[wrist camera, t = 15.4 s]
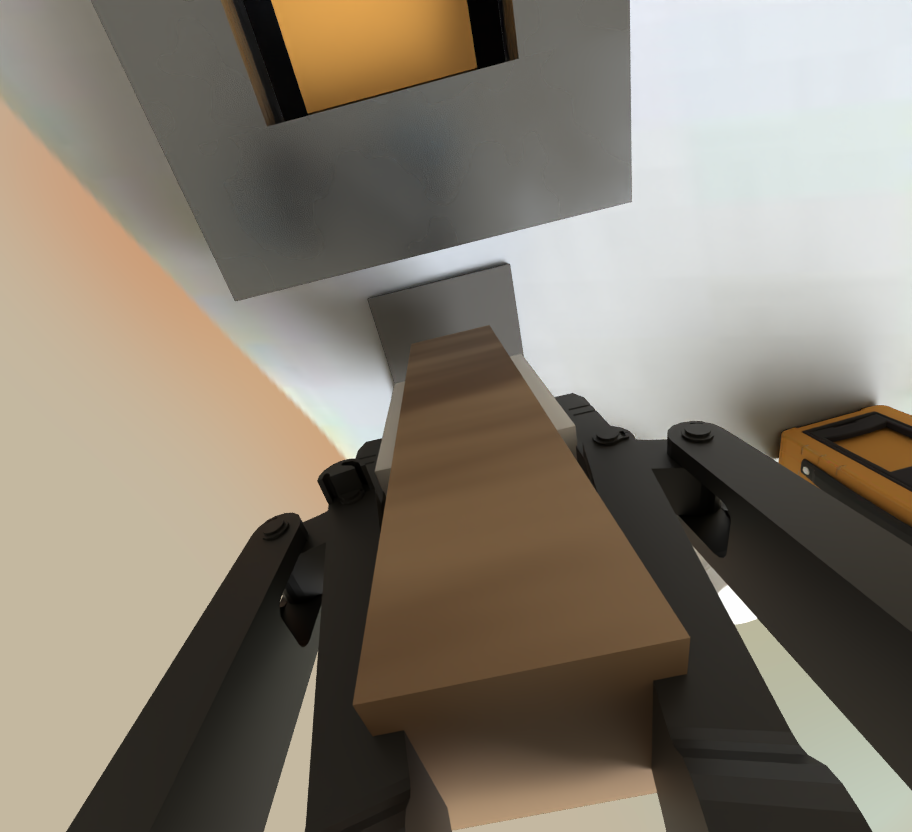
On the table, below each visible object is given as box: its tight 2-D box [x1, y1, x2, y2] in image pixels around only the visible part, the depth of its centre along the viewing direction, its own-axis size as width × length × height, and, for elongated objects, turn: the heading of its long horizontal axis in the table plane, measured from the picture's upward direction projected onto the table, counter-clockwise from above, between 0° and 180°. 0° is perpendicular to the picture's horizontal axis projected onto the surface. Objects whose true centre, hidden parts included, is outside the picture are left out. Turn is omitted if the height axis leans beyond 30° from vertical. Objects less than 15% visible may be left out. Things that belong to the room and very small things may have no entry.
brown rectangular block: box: [353, 325, 690, 830], centre depth 12 cm, size 4×4×16 cm
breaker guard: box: [91, 0, 632, 301], centre depth 12 cm, size 14×12×10 cm
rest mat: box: [368, 264, 524, 384], centre depth 22 cm, size 8×8×1 cm
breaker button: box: [271, 0, 477, 115], centre depth 13 cm, size 5×5×6 cm
